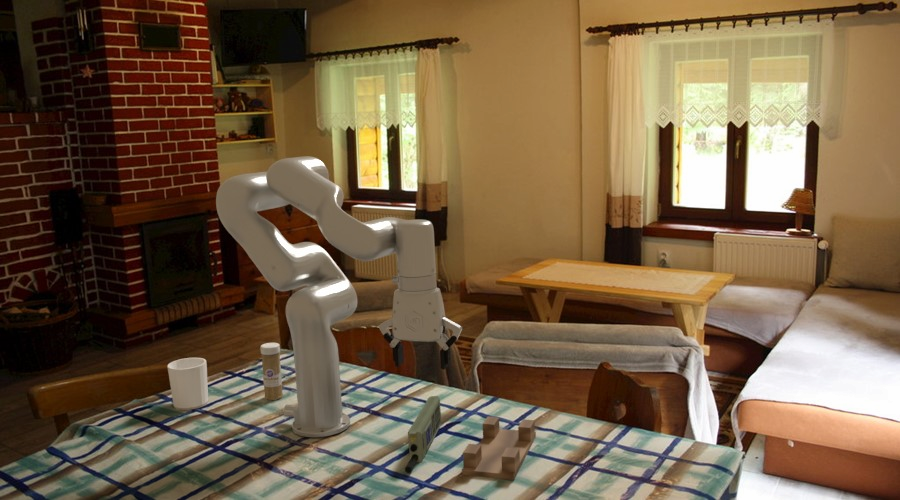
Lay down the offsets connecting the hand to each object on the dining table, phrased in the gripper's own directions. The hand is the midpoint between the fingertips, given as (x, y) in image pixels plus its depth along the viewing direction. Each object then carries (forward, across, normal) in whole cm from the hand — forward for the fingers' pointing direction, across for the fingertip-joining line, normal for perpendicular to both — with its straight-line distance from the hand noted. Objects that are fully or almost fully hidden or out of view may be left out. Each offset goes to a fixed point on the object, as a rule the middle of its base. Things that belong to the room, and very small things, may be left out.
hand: (422, 366), depth 157 cm
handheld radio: (+18, -1, 0) cm, 18 cm away
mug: (+17, -65, +11) cm, 68 cm away
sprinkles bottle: (+17, -46, +19) cm, 53 cm away
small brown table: (+18, +16, 0) cm, 23 cm away
